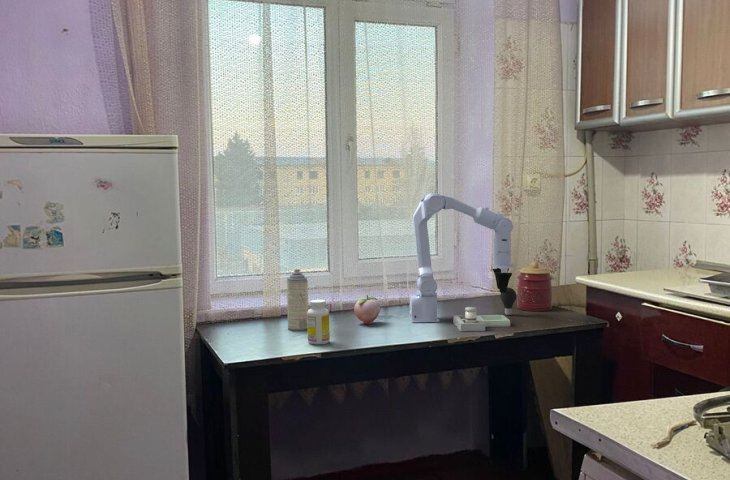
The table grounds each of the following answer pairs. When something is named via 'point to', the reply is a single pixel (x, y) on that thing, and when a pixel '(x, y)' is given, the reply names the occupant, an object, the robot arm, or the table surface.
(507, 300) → the light bulb
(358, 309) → the decorative fruit
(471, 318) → the fuse
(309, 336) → the supplement bottle
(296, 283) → the aerosol can
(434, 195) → the robot arm
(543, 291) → the canister
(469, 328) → the gray rectangular frame
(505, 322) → the parts tray
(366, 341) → the table surface
